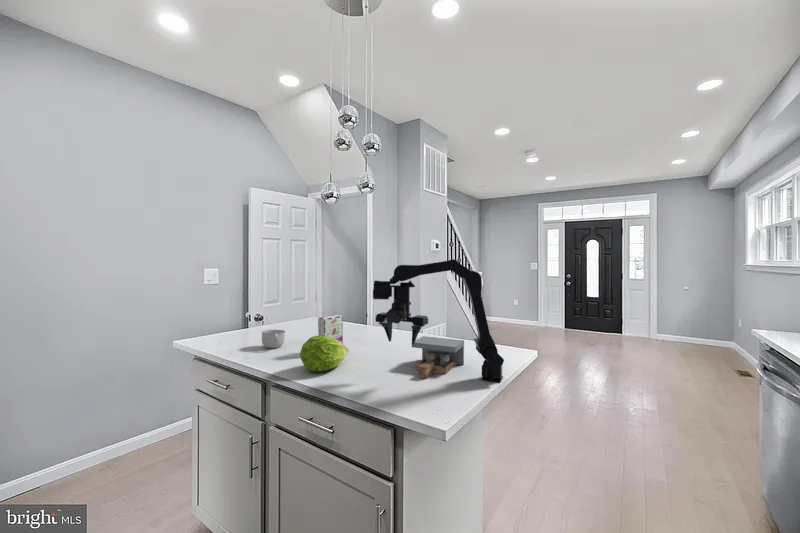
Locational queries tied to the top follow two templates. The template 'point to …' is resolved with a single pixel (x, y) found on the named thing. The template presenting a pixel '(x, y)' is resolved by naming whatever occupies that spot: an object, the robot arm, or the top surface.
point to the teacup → (273, 338)
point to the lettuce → (322, 353)
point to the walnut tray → (434, 364)
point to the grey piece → (442, 347)
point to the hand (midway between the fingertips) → (401, 342)
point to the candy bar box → (331, 327)
